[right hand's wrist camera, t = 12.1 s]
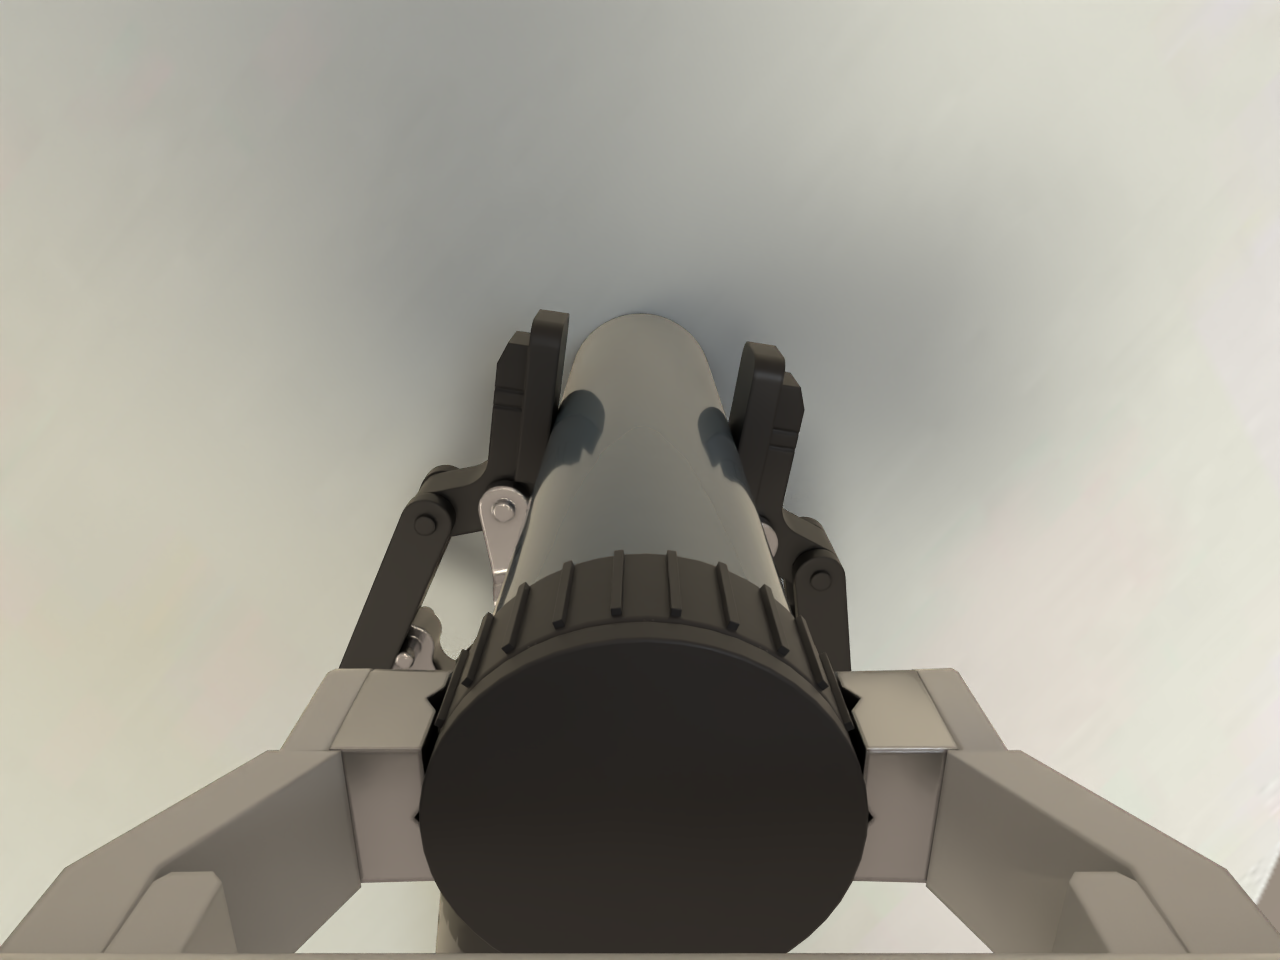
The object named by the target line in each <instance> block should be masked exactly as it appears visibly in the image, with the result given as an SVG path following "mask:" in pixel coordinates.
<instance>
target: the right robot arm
mask: <svg viewBox="0 0 1280 960" xmlns="http://www.w3.org/2000/svg"><path fill="white" fill-rule="evenodd" d="M453 672H454V670H406V669H375V670H373V669H334V670H332V671H330V672H328V673H327V674H326V676H325V678H324V679H323V681H322V682H321V684H320V686H319V687H318V689H317V691H316V692H315V694H314V695H313V697H312V699H311V700H310V702H309V704H308V705H307V707H306V708H305V710H304V712H303V713H302V715H301V717H300V718H299V720H298V721H297V723H296V725H295V726H294V728H293V730H292V731H291V733H290V735H289V736H288V738H287V739H286V741H285V743H284V744H283V746H282V748H281V749H280V750H268V751H266V752H264V753H262V754H260V755H259V756H257V757H255V758H254V759H252V760H250V761H248V762H247V763H245V764H243V765H241V766H240V767H238V768H236V769H235V770H233V771H231V772H229V773H228V774H226V775H224V776H222V777H221V778H219V779H217V780H216V781H214V782H212V783H210V784H209V785H207V786H205V787H204V788H202V789H200V790H198V791H197V792H195V793H193V794H191V795H190V796H188V797H186V798H185V799H183V800H181V801H179V802H178V803H176V804H174V805H172V806H171V807H169V808H167V809H166V810H164V811H162V812H160V813H159V814H157V815H155V816H154V817H152V818H150V819H148V820H147V821H145V822H143V823H141V824H140V825H138V826H136V827H135V828H133V829H131V830H129V831H128V832H126V833H124V834H122V835H121V836H119V837H117V838H116V839H114V840H112V841H110V842H109V843H107V844H105V845H104V846H102V847H100V848H98V849H97V850H95V851H93V852H91V853H90V854H88V855H86V856H85V857H83V858H81V859H79V860H78V861H76V862H74V863H72V864H71V865H69V866H67V867H66V868H64V869H63V871H62V872H61V873H60V874H59V876H58V877H57V878H56V879H55V881H54V882H53V883H52V884H51V885H50V887H49V888H48V889H47V890H46V892H45V893H44V894H43V895H42V896H41V898H40V899H39V900H38V901H37V903H36V904H35V905H34V906H33V907H32V909H31V910H30V911H29V912H28V914H27V915H26V916H25V917H24V919H23V920H22V921H21V922H20V923H19V925H18V926H17V927H16V928H15V930H14V931H13V932H12V933H11V934H10V936H9V937H8V938H7V939H6V941H5V942H4V943H3V944H2V945H1V947H0V960H1280V934H1279V932H1278V931H1277V930H1276V929H1275V927H1274V926H1273V925H1272V924H1271V923H1270V921H1269V920H1268V919H1267V918H1266V917H1265V915H1264V914H1263V913H1262V912H1261V911H1260V909H1259V908H1258V907H1257V906H1256V904H1255V903H1254V902H1253V901H1252V900H1251V898H1250V897H1249V896H1248V895H1247V893H1246V892H1245V891H1244V890H1243V889H1242V887H1241V886H1240V885H1239V884H1238V883H1237V881H1236V880H1235V879H1234V878H1233V876H1232V875H1231V874H1230V873H1229V872H1228V870H1227V869H1225V868H1223V867H1222V866H1220V865H1218V864H1217V863H1215V862H1213V861H1211V860H1210V859H1208V858H1206V857H1204V856H1203V855H1201V854H1199V853H1197V852H1196V851H1194V850H1192V849H1191V848H1189V847H1187V846H1185V845H1184V844H1182V843H1180V842H1178V841H1177V840H1175V839H1173V838H1171V837H1170V836H1168V835H1166V834H1165V833H1163V832H1161V831H1159V830H1158V829H1156V828H1154V827H1152V826H1151V825H1149V824H1147V823H1145V822H1144V821H1142V820H1140V819H1139V818H1137V817H1135V816H1133V815H1132V814H1130V813H1128V812H1126V811H1125V810H1123V809H1121V808H1119V807H1118V806H1116V805H1114V804H1113V803H1111V802H1109V801H1107V800H1106V799H1104V798H1102V797H1100V796H1099V795H1097V794H1095V793H1093V792H1092V791H1090V790H1088V789H1086V788H1085V787H1083V786H1081V785H1080V784H1078V783H1076V782H1074V781H1073V780H1071V779H1069V778H1067V777H1066V776H1064V775H1062V774H1060V773H1059V772H1057V771H1055V770H1054V769H1052V768H1050V767H1048V766H1047V765H1045V764H1043V763H1041V762H1040V761H1038V760H1036V759H1034V758H1033V757H1031V756H1029V755H1028V754H1026V753H1024V752H1022V751H1021V750H1008V749H1007V748H1006V746H1005V745H1004V743H1003V742H1002V740H1001V738H1000V737H999V735H998V734H997V732H996V731H995V729H994V727H993V726H992V724H991V723H990V721H989V720H988V718H987V716H986V715H985V713H984V712H983V710H982V709H981V707H980V705H979V704H978V702H977V701H976V699H975V698H974V696H973V694H972V693H971V691H970V690H969V688H968V686H967V685H966V683H965V682H964V680H963V679H962V677H961V675H960V674H959V672H958V671H956V670H954V669H952V668H940V669H912V670H889V671H842V672H834V675H835V677H836V680H837V683H838V685H839V688H840V691H841V693H842V696H843V699H844V701H845V704H846V707H847V709H848V712H849V714H850V717H851V720H852V722H853V725H854V729H852V730H849V736H850V739H851V742H852V745H853V747H854V750H855V753H856V755H857V758H858V761H859V764H860V767H861V771H862V774H863V778H864V781H865V785H866V790H867V800H868V810H869V814H868V830H867V838H866V842H865V846H864V851H863V855H862V859H861V862H860V864H859V867H858V869H857V872H856V874H855V877H854V879H853V881H882V882H918V883H926V887H927V888H928V889H929V890H930V891H931V892H932V893H933V894H934V895H935V896H936V897H937V898H939V899H940V900H941V901H942V902H943V903H944V904H945V905H946V906H947V907H948V908H949V909H950V910H951V911H952V912H953V913H954V914H955V915H956V916H957V917H958V918H959V919H960V920H961V921H962V922H963V923H964V924H965V925H966V926H967V927H968V928H969V929H970V930H971V931H972V932H973V933H974V934H975V935H976V936H977V937H978V938H979V939H980V940H981V941H982V942H983V943H984V944H985V945H986V946H987V947H988V948H989V949H990V950H991V951H992V952H993V953H295V952H296V951H297V950H298V949H299V948H300V947H301V946H302V945H303V944H304V943H305V942H306V941H307V940H308V939H309V938H310V937H311V936H312V935H313V934H314V933H315V932H316V931H317V930H318V929H319V928H320V927H321V926H322V925H323V924H324V923H325V922H326V921H327V920H328V919H329V918H330V917H331V916H332V915H333V914H334V913H335V912H336V911H337V910H338V909H339V908H340V907H341V906H342V905H343V904H344V903H345V902H346V901H347V900H348V899H349V898H350V897H352V896H353V895H354V894H355V893H356V892H357V891H358V890H359V889H360V888H361V883H369V882H404V881H435V880H434V878H433V876H432V874H431V872H430V869H429V866H428V863H427V860H426V857H425V854H424V851H423V845H422V840H421V834H420V828H419V802H420V796H421V790H422V783H423V779H424V776H425V773H426V770H427V767H428V764H429V761H430V758H431V755H432V752H433V749H434V747H435V744H436V741H437V738H438V727H437V726H435V725H434V724H435V721H436V718H437V716H438V713H439V710H440V707H441V705H442V702H443V699H444V696H445V694H446V691H447V688H448V685H449V683H450V680H451V677H452V674H453Z"/></svg>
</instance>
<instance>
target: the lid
mask: <svg viewBox="0 0 1280 960" xmlns="http://www.w3.org/2000/svg"><path fill="white" fill-rule="evenodd" d="M434 725H435V726H437V727H438V738H437V741H436V744H435V747H434V749H433V752H432V755H431V758H430V761H429V764H428V767H427V770H426V773H425V776H424V779H423V783H422V790H421V796H420V802H419V828H420V834H421V840H422V845H423V851H424V854H425V857H426V860H427V863H428V866H429V869H430V872H431V874H432V876H433V878H434V880H435V882H436V884H437V886H438V888H439V890H440V892H441V893H442V895H443V897H444V898H445V899H446V901H447V902H448V904H449V905H450V906H451V908H452V909H453V910H454V912H455V913H456V915H457V916H458V917H459V918H460V919H461V920H462V921H463V922H464V923H465V924H466V925H467V926H468V927H469V928H470V929H471V930H472V931H473V932H474V933H475V934H476V935H477V936H479V937H480V938H481V939H482V940H484V941H485V942H486V943H487V944H488V945H490V946H491V947H492V948H494V949H495V950H497V951H498V952H500V953H787V952H789V951H790V950H792V949H793V948H794V947H796V946H797V945H798V944H800V943H801V942H802V941H804V940H805V939H806V938H808V937H809V936H810V935H811V934H812V933H813V932H814V931H815V930H816V929H817V928H818V927H819V926H820V925H821V924H822V923H823V922H824V921H825V920H826V919H827V918H828V917H829V915H830V914H831V913H832V912H833V910H834V909H835V908H836V907H837V905H838V904H839V903H840V902H841V900H842V898H843V897H844V895H845V893H846V892H847V890H848V888H849V886H850V885H851V883H852V881H853V879H854V877H855V874H856V872H857V869H858V867H859V864H860V862H861V859H862V855H863V851H864V846H865V842H866V838H867V830H868V814H869V810H868V800H867V790H866V785H865V781H864V778H863V774H862V771H861V767H860V764H859V761H858V758H857V755H856V753H855V750H854V747H853V745H852V742H851V739H850V736H849V730H852V729H854V725H853V722H852V720H851V717H850V714H849V712H848V709H847V707H846V704H845V701H844V699H843V696H842V693H841V691H840V688H839V685H838V683H837V680H836V677H835V675H834V672H833V669H832V667H831V664H830V661H829V659H828V656H827V654H826V652H824V653H821V654H818V651H817V649H816V647H815V645H814V643H813V640H812V637H811V634H810V632H809V629H808V626H807V623H806V620H805V619H804V618H803V617H802V616H801V615H799V616H798V617H796V618H794V617H793V615H792V614H791V613H790V612H789V611H788V610H787V609H786V608H785V607H784V606H783V605H782V604H780V603H779V602H778V601H777V600H776V599H774V596H773V593H772V590H771V588H770V587H769V586H767V585H766V584H763V586H762V587H761V588H759V587H758V586H756V585H755V584H753V583H751V582H750V581H748V580H746V579H744V578H742V577H740V576H738V575H736V574H734V573H732V572H730V571H728V567H727V564H725V563H722V562H718V564H717V566H714V565H711V564H708V563H705V562H702V561H698V560H693V559H688V558H683V557H678V556H677V552H676V551H672V550H667V555H660V554H645V553H644V554H624V550H615V551H614V556H609V557H603V558H597V559H593V560H589V561H586V562H582V563H579V564H575V565H574V564H573V562H572V560H571V561H568V562H565V563H563V568H562V570H560V571H558V572H555V573H553V574H550V575H548V576H546V577H544V578H542V579H541V580H539V581H537V582H536V583H534V584H532V585H530V586H529V585H528V584H527V583H526V582H524V583H523V584H521V585H520V586H519V587H518V590H517V594H516V596H515V597H513V598H512V599H511V600H510V601H508V602H507V603H506V604H505V605H504V606H503V607H502V608H501V609H500V610H499V611H498V612H497V613H496V614H495V615H494V616H493V615H492V614H490V613H489V612H488V613H487V614H486V615H485V616H484V618H483V620H482V623H481V626H480V629H479V632H478V635H477V638H476V639H475V641H474V643H473V645H472V647H471V649H470V650H469V651H466V650H464V649H462V651H461V653H460V655H459V658H458V661H457V663H456V666H455V669H454V672H453V674H452V677H451V680H450V683H449V685H448V688H447V691H446V694H445V696H444V699H443V702H442V705H441V707H440V710H439V713H438V716H437V718H436V721H435V724H434Z"/></svg>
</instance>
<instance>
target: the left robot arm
mask: <svg viewBox="0 0 1280 960" xmlns="http://www.w3.org/2000/svg"><path fill="white" fill-rule="evenodd" d="M568 325H569V314H568V313H562V312H555V311H549V310H542V309H540V310H539V312H538V313H537V315H536V316H535V318H534V320H533V323H532V327H531V333H528V332H521V331H516V332H515V334H514V335H513V337H512V338H511V339H510V341H509V342H508V344H507V346H506V348H505V350H504V351H503V353H502V355H501V357H500V359H499V361H498V363H497V370H496V381H495V391H494V402H493V403H494V405H493V413H492V424H491V434H490V445H489V456H488V460H487V461H485V462H484V463H482V464H480V465H477V466H473V467H467V468H462V469H459V468H457V467H454V466H450V465H441V466H438V467H435V468H434V469H432V470H431V471H430V472H429V473H428V474H427V476H426V477H425V479H424V480H423V482H422V484H421V487H420V489H419V492H418V493H417V495H416V496H415V497H414V498H413V499H411V500H410V502H409V503H408V504H407V506H406V507H405V509H404V510H403V512H402V514H401V517H400V519H399V522H398V524H397V527H396V529H395V531H394V534H393V536H392V539H391V541H390V544H389V546H388V549H387V551H386V554H385V556H384V558H383V561H382V563H381V566H380V568H379V571H378V573H377V576H376V578H375V581H374V583H373V585H372V588H371V590H370V593H369V595H368V598H367V600H366V603H365V605H364V608H363V610H362V613H361V615H360V617H359V620H358V622H357V625H356V627H355V630H354V632H353V635H352V637H351V640H350V642H349V644H348V647H347V649H346V652H345V654H344V657H343V659H342V662H341V664H340V667H339V669H373V670H375V669H406V670H454V669H455V666H456V663H457V661H458V658H459V657H458V658H457V659H456V660H453V659H451V658H450V657H448V656H447V655H446V654H445V653H444V651H443V650H442V648H441V645H440V637H441V633H442V626H441V622H440V620H439V619H438V617H437V616H436V615H435V613H434V611H433V610H432V609H431V608H430V607H426V606H423V607H421V606H422V603H423V601H424V599H425V596H426V594H427V592H428V589H429V587H430V585H431V582H432V580H433V578H434V576H435V573H436V571H437V569H438V566H439V564H440V562H441V559H442V557H443V555H444V553H445V550H446V548H447V546H448V543H449V541H450V539H451V537H452V536H457V535H462V534H468V533H473V532H478V531H483V534H484V538H485V542H486V547H487V551H488V555H489V559H490V564H491V568H492V573H493V598H494V605H495V606H496V603H497V600H498V597H499V594H500V590H501V587H502V584H503V581H504V578H505V575H506V572H507V569H508V565H509V562H510V559H511V556H512V553H513V550H514V547H515V544H516V540H517V537H518V534H519V531H520V528H521V525H522V522H523V519H524V515H525V512H526V509H527V506H528V503H529V500H530V497H531V494H532V490H533V487H534V484H535V481H536V478H537V475H538V472H539V469H540V465H541V462H542V459H543V456H544V453H545V450H546V447H547V444H548V440H549V437H550V434H551V431H552V428H553V425H554V422H555V419H556V415H557V412H558V408H559V399H560V391H561V383H562V375H563V366H564V358H565V350H566V342H567V334H568ZM803 414H804V404H803V399H802V393H801V387H800V386H799V384H798V383H797V382H796V380H795V379H794V377H793V376H792V374H791V373H788V372H785V359H784V357H783V355H782V354H781V353H780V351H779V350H778V349H777V347H776V346H773V345H767V344H760V343H754V342H746V344H745V346H744V349H743V353H742V357H741V362H740V367H739V372H738V377H737V382H736V387H735V392H734V397H733V402H732V407H731V412H730V417H729V422H728V424H729V427H730V430H731V433H732V436H733V439H734V442H735V445H736V448H737V451H738V454H739V457H740V460H741V463H742V466H743V469H744V472H745V475H746V478H747V481H748V484H749V487H750V490H751V493H752V496H753V499H754V502H755V505H756V508H757V510H758V513H759V516H760V519H761V522H762V525H763V528H764V531H765V534H766V537H767V540H768V543H769V546H770V549H771V552H772V555H773V558H774V561H775V564H776V567H777V570H778V573H779V576H780V578H782V579H783V580H784V591H785V594H786V597H787V600H788V603H789V606H790V609H791V612H792V615H793V617H794V618H796V617H798V616H799V615H801V616H802V617H803V618H804V619H805V620H806V623H807V626H808V629H809V632H810V634H811V637H812V640H813V643H814V645H815V647H816V649H817V651H818V654H821V653H824V652H826V654H827V656H828V659H829V661H830V664H831V667H832V669H833V672H842V671H851V661H850V645H849V628H848V612H847V596H846V580H845V572H844V569H843V567H842V565H841V563H840V561H839V559H838V557H837V555H836V553H835V551H834V549H833V547H832V545H831V543H830V541H829V539H828V537H827V535H826V533H825V531H824V529H823V527H822V525H821V524H820V523H819V522H818V521H816V520H815V519H813V518H809V517H798V516H796V515H794V514H792V513H790V512H788V511H787V510H785V509H784V508H783V507H782V506H783V500H784V496H785V492H786V487H787V483H788V479H789V474H790V470H791V466H792V461H793V457H794V453H795V452H794V451H795V448H796V444H797V440H798V433H799V431H800V427H801V422H802V418H803ZM472 645H473V644H472ZM472 645H471V646H470V647H469V648H468V649H467V650H466V651H469V650H470V649H471V647H472ZM436 953H500V952H498V951H497V950H495V949H494V948H492V947H491V946H490V945H488V944H487V943H486V942H485V941H484V940H482V939H481V938H480V937H479V936H477V935H476V934H475V933H474V932H473V931H472V930H471V929H470V928H469V927H468V926H467V925H466V924H465V923H464V922H463V921H462V920H461V919H460V918H459V917H458V916H457V915H456V913H455V912H454V910H453V909H452V908H451V906H450V905H449V904H448V902H447V901H446V899H445V898H444V897H443V895H442V893H441V894H440V905H439V917H438V928H437V940H436Z"/></svg>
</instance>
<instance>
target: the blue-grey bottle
mask: <svg viewBox="0 0 1280 960" xmlns="http://www.w3.org/2000/svg"><path fill="white" fill-rule="evenodd" d="M615 550H624V554H644V553H645V554H660V555H667V550H672V551H676V552H677V556H678V557H683V558H688V559H693V560H698V561H702V562H705V563H708V564H711V565H714V566H717V564H718V562H722V563H725V564H727V567H728V571H730V572H732V573H734V574H736V575H738V576H740V577H742V578H744V579H746V580H748V581H750V582H751V583H753V584H755V585H756V586H758V587H759V588H761V587H762V586H763V584H766V585H767V586H769V587H770V588H771V590H772V593H773V596H774V599H776V600H777V601H778V602H779V603H780V604H782V605H783V606H784V607H785V608H786V609H787V610H788V611H789V612H790V613H791V614H792V612H791V609H790V606H789V603H788V600H787V597H786V594H785V591H784V588H783V585H782V582H781V579H780V576H779V573H778V570H777V567H776V564H775V561H774V558H773V555H772V552H771V549H770V546H769V543H768V540H767V537H766V534H765V531H764V528H763V525H762V522H761V519H760V516H759V513H758V510H757V508H756V505H755V502H754V499H753V496H752V493H751V490H750V487H749V484H748V481H747V478H746V475H745V472H744V469H743V466H742V463H741V460H740V457H739V454H738V451H737V448H736V445H735V442H734V439H733V436H732V433H731V430H730V427H729V424H728V421H727V418H726V415H725V412H724V409H723V406H722V403H721V401H720V398H719V395H718V392H717V389H716V386H715V383H714V380H713V377H712V374H711V371H710V368H709V365H708V362H707V359H706V357H705V354H704V352H703V350H702V348H701V347H700V345H699V344H698V342H697V341H696V340H695V338H694V337H693V336H692V335H691V334H690V333H689V332H688V331H687V330H686V329H684V328H683V327H682V326H680V325H679V324H677V323H675V322H673V321H671V320H669V319H667V318H664V317H661V316H657V315H653V314H643V313H640V314H629V315H623V316H620V317H617V318H614V319H612V320H610V321H608V322H606V323H604V324H603V325H601V326H599V327H598V328H597V329H596V330H594V331H593V332H592V333H591V334H590V335H589V336H588V337H587V338H586V340H585V341H584V342H583V344H582V345H581V347H580V348H579V350H578V352H577V354H576V357H575V359H574V362H573V365H572V369H571V372H570V375H569V378H568V381H567V384H566V387H565V390H564V394H563V397H562V400H561V403H560V406H559V409H558V412H557V415H556V419H555V422H554V425H553V428H552V431H551V434H550V437H549V440H548V444H547V447H546V450H545V453H544V456H543V459H542V462H541V465H540V469H539V472H538V475H537V478H536V481H535V484H534V487H533V490H532V494H531V497H530V500H529V503H528V506H527V509H526V512H525V515H524V519H523V522H522V525H521V528H520V531H519V534H518V537H517V540H516V544H515V547H514V550H513V553H512V556H511V559H510V562H509V565H508V569H507V572H506V575H505V578H504V581H503V584H502V587H501V590H500V594H499V597H498V600H497V603H496V606H495V609H494V612H493V616H494V615H495V614H496V613H497V612H498V611H499V610H500V609H501V608H502V607H503V606H504V605H505V604H506V603H507V602H508V601H510V600H511V599H512V598H513V597H515V596H516V594H517V590H518V587H519V586H520V585H521V584H523V583H524V582H526V583H527V584H528V585H529V586H530V585H532V584H534V583H536V582H537V581H539V580H541V579H542V578H544V577H546V576H548V575H550V574H553V573H555V572H558V571H560V570H562V568H563V563H565V562H568V561H571V560H572V562H573V564H574V565H575V564H579V563H582V562H586V561H589V560H593V559H597V558H603V557H609V556H614V551H615Z"/></svg>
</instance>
